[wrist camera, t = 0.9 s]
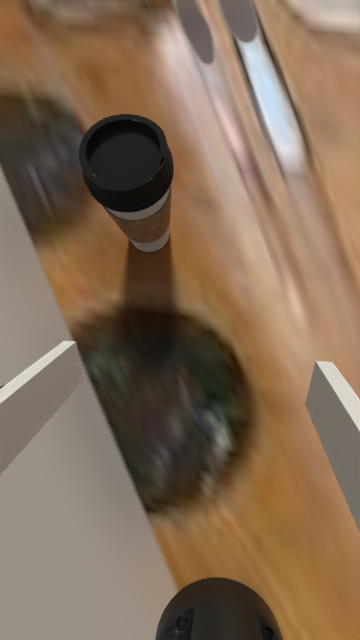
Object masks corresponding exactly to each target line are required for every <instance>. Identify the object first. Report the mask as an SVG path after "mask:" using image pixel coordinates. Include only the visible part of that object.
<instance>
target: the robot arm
mask: <svg viewBox="0 0 360 640" xmlns="http://www.w3.org/2000/svg"><path fill="white" fill-rule="evenodd" d="M82 381H83V376H82V371H81V366H80V360H79V355H78V350H77V345H76V342H74V341H63V342H62V343H60V344H59V345H58V346H56V347H55V348H54V349H52V350H51V351H50V352H48V353H47V354H46V355H45V356H43V357H42V358H41V359H39V360H38V361H37V362H35V363H34V364H33V365H31V366H30V367H29V368H27V369H26V370H25V371H23V372H22V373H21V374H19V375H18V376H17V377H15V378H14V379H13V380H12V381H10V382H9V383H7V384H6V385H3V386H1V387H0V475H1V473H2V472H3V471H4V470H5V469H6V468H7V467H8V465H9V464H10V463H11V462H12V461H13V460H14V459H15V457H16V456H17V455H18V454H19V453H20V452H21V451H22V450H23V448H24V447H25V446H26V445H27V444H28V443H29V442H30V440H31V439H32V438H33V437H34V436H35V435H36V434H37V433H38V431H39V430H40V429H41V428H42V427H43V426H44V424H45V423H46V422H47V421H48V420H49V419H50V418H51V417H52V415H53V414H54V413H55V412H56V411H57V410H58V409H59V408H60V406H61V405H62V404H63V403H64V402H65V401H66V400H67V399H68V397H69V396H70V395H71V394H72V393H73V392H74V391H75V389H76V388H77V387H78V386H79V385H80V384H81V383H82ZM305 405H306V407H307V409H308V412H309V414H310V417H311V419H312V421H313V424H314V426H315V428H316V431H317V433H318V435H319V438H320V440H321V443H322V445H323V447H324V450H325V452H326V454H327V457H328V459H329V461H330V464H331V466H332V468H333V471H334V473H335V476H336V478H337V480H338V483H339V485H340V487H341V490H342V492H343V494H344V497H345V499H346V501H347V504H348V506H349V509H350V511H351V513H352V516H353V518H354V520H355V523H356V525H357V527H358V530H359V532H360V399H359V398H358V396H357V395H356V394H355V392H354V391H353V390H352V388H351V387H350V386H349V384H348V383H347V381H346V380H345V379H344V377H343V376H342V375H341V373H340V372H339V371H338V369H337V368H336V366H335V365H334V364H333V362H324V361H316V362H315V366H314V370H313V374H312V378H311V383H310V387H309V391H308V395H307V399H306V404H305ZM156 640H283V638H282V635H281V631H280V628H279V626H278V623H277V621H276V619H275V617H274V615H273V613H272V611H271V610H270V608H269V607H268V605H267V604H266V603H265V602H264V600H263V599H262V598H261V597H260V596H259V595H258V594H257V593H255V592H254V591H253V590H251V589H250V588H249V587H247V586H245V585H243V584H241V583H239V582H237V581H234V580H230V579H225V578H207V579H202V580H199V581H196V582H194V583H192V584H190V585H188V586H186V587H185V588H183V589H182V590H181V591H179V592H178V593H177V594H176V595H175V596H174V597H173V599H172V600H171V601H170V602H169V604H168V605H167V607H166V608H165V610H164V612H163V614H162V616H161V619H160V621H159V624H158V628H157V633H156Z"/></svg>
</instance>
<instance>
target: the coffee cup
mask: <svg viewBox="0 0 360 640" xmlns="http://www.w3.org/2000/svg"><path fill="white" fill-rule="evenodd" d="M79 160H80V164H81V167H82V170H83V177H84V180H85V183H86V185H87V187H88V189H89V191H90V192H91V194H92V196H93V197H94V198H95V199H96V200H97V201H98V202H99V203H100V204H102V205H103V207H104V209H105V210H106V211H107V212H108V214H109V215H110V216H111V217H112V219H113V220H114V221H115V222H116V224H117V225H118V226H119V227H120V229H121V230H122V231H123V232H124V234H125V235H126V236H127V237H128V238H129V240H130V241H131V243H132V244H133V245H134V246H135V247H136V248H138V249H139V250H141V251H145V252H153V251H157V250H159V249H160V248H162V247H163V246H164V245H165V244H166V243H167V241H168V239H169V235H170V209H171V182H172V178H173V170H174V168H173V159H172V154H171V152H170V149H169V147H168V144H167V140H166V137H165V135H164V132H163V131H162V129H161V128H160V127H159V126H158V125H157V124H156V123H154V122H153V121H151V120H149V119H147V118H145V117H141V116H138V115H131V114H120V115H113V116H110V117H107V118H104V119H102V120H100V121H98V122H97V123H96V124H94V125H93V126H92V127H91V128H90V129H89V130H88V131H87V132H86V134H85V135H84V137H83V139H82V141H81V144H80V148H79Z"/></svg>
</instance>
